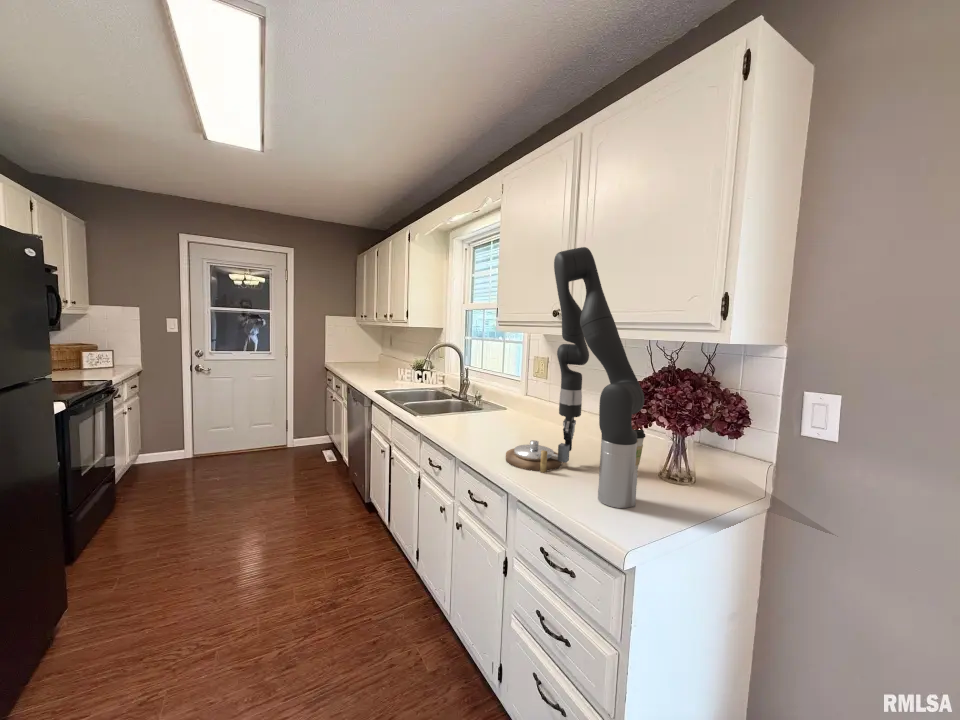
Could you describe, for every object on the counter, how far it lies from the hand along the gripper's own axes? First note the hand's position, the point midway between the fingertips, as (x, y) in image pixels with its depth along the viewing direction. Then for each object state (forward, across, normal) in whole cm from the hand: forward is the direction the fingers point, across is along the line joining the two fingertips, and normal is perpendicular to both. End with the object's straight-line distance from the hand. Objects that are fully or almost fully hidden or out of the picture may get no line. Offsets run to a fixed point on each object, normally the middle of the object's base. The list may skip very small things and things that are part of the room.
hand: (568, 450), depth 138 cm
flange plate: (+3, +2, -9) cm, 10 cm away
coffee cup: (+5, -1, +20) cm, 20 cm away
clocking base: (+5, +2, -12) cm, 13 cm away
